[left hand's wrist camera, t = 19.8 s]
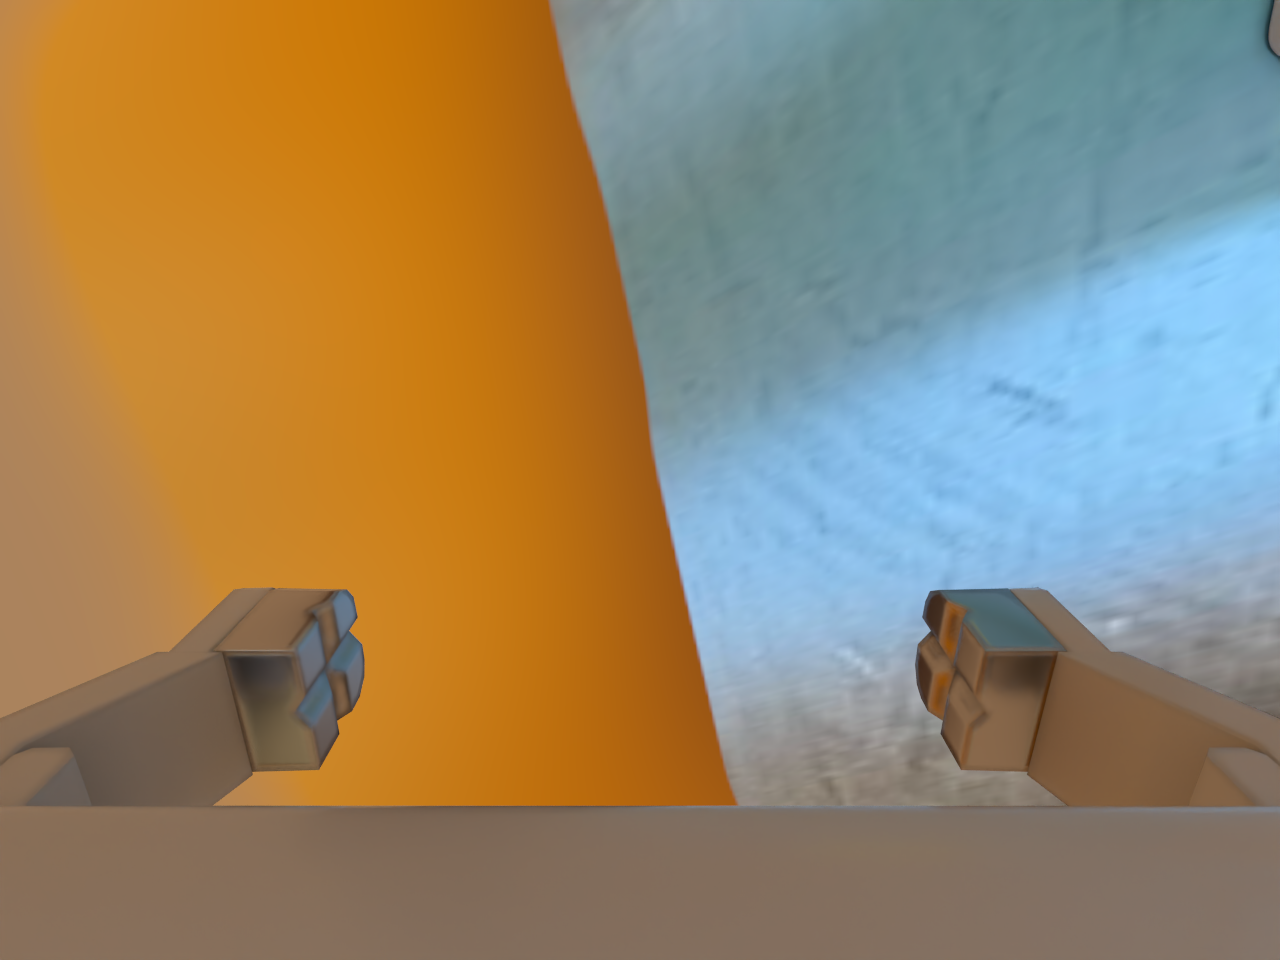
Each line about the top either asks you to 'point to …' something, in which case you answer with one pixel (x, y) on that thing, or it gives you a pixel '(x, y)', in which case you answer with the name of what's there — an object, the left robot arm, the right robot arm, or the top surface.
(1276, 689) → the top surface
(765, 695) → the top surface
